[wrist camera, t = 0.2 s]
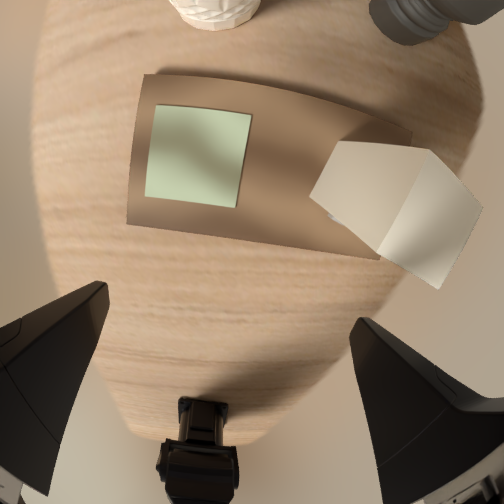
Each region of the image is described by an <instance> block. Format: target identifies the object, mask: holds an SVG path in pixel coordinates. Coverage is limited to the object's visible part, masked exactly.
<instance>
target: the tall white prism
mask: <svg viewBox="0 0 504 504" xmlns="http://www.w3.org/2000/svg"><path fill="white" fill-rule="evenodd" d="M309 197H310V198H311V199H313V200H314V201H315V202H316V203H318V204H319V205H320V206H321V207H323V208H324V209H325V210H326V211H328V212H329V214H328V215H327V216H328V217H330V218H331V219H332V220H334V221H336V222H338V223H339V224H341V225H343V226H344V225H345V226H346V227H347V228H348V229H349V230H351V231H352V232H353V233H354V234H355V235H356V236H358V237H359V238H360V239H361V240H362V241H363V242H365V243H366V244H367V245H368V246H369V247H370V248H371V249H373V250H374V251H375V252H376V253H378V254H379V255H381V256H383V257H385V258H386V259H388V260H390V261H391V262H393V263H395V264H397V265H398V266H400V267H402V268H403V269H405V270H407V271H409V272H410V273H412V274H414V275H415V276H417V277H419V278H420V279H422V280H423V281H425V282H427V283H428V284H430V285H431V286H433V287H435V288H436V289H439V288H440V287H441V285H442V284H443V282H444V280H445V279H446V277H447V276H448V274H449V272H450V270H451V269H452V267H453V266H454V264H455V262H456V260H457V259H458V257H459V255H460V253H461V252H462V250H463V248H464V246H465V244H466V242H467V240H468V238H469V236H470V234H471V232H472V230H473V228H474V226H475V224H476V222H477V220H478V218H479V216H480V214H481V211H482V209H483V207H482V205H481V204H480V203H479V202H478V200H477V199H476V198H475V197H474V195H473V194H472V193H471V192H470V191H469V190H468V189H467V187H466V186H465V185H464V184H463V183H462V182H461V181H460V179H459V178H458V177H457V176H456V175H455V174H454V173H453V172H452V171H451V170H450V169H449V168H448V167H447V166H446V165H445V164H444V163H443V162H442V161H441V160H440V159H439V158H438V157H437V156H436V155H435V154H434V153H433V152H432V151H431V150H430V149H423V148H416V147H408V146H400V145H390V144H380V143H368V142H353V141H338V142H337V144H336V146H335V148H334V150H333V152H332V154H331V156H330V158H329V160H328V162H327V164H326V165H325V167H324V169H323V171H322V173H321V175H320V177H319V179H318V181H317V182H316V184H315V186H314V188H313V190H312V192H311V194H310V196H309Z"/></svg>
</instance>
